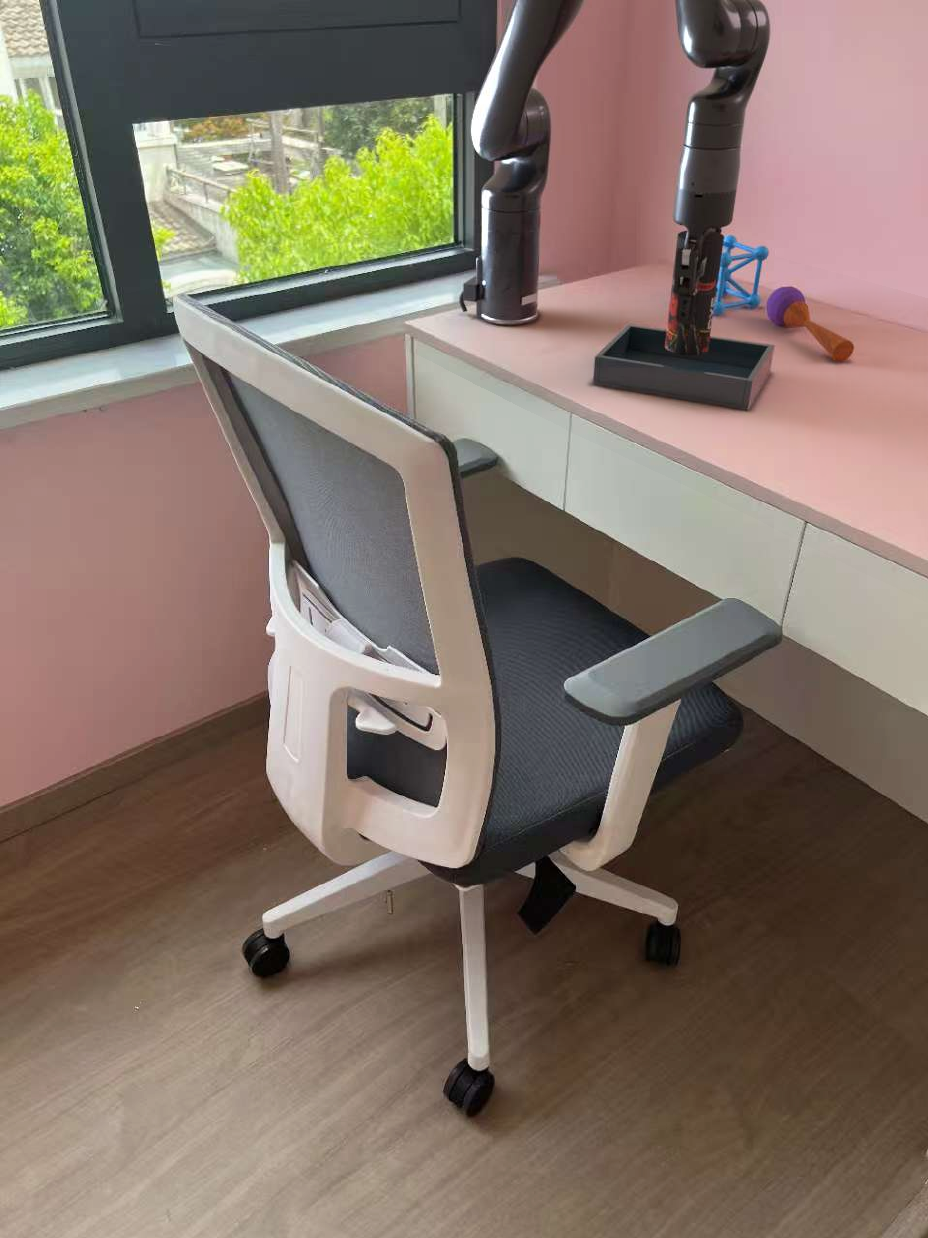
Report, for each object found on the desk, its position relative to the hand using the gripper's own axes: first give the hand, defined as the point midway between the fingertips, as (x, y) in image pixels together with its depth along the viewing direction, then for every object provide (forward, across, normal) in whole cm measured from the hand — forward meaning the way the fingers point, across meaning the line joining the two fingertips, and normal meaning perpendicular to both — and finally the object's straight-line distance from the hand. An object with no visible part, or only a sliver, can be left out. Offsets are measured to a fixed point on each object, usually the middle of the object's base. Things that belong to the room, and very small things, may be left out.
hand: (690, 314), depth 134 cm
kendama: (+9, -23, +13) cm, 28 cm away
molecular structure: (+9, -34, -3) cm, 36 cm away
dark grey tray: (+9, 0, 0) cm, 9 cm away
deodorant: (+5, 0, 0) cm, 5 cm away
